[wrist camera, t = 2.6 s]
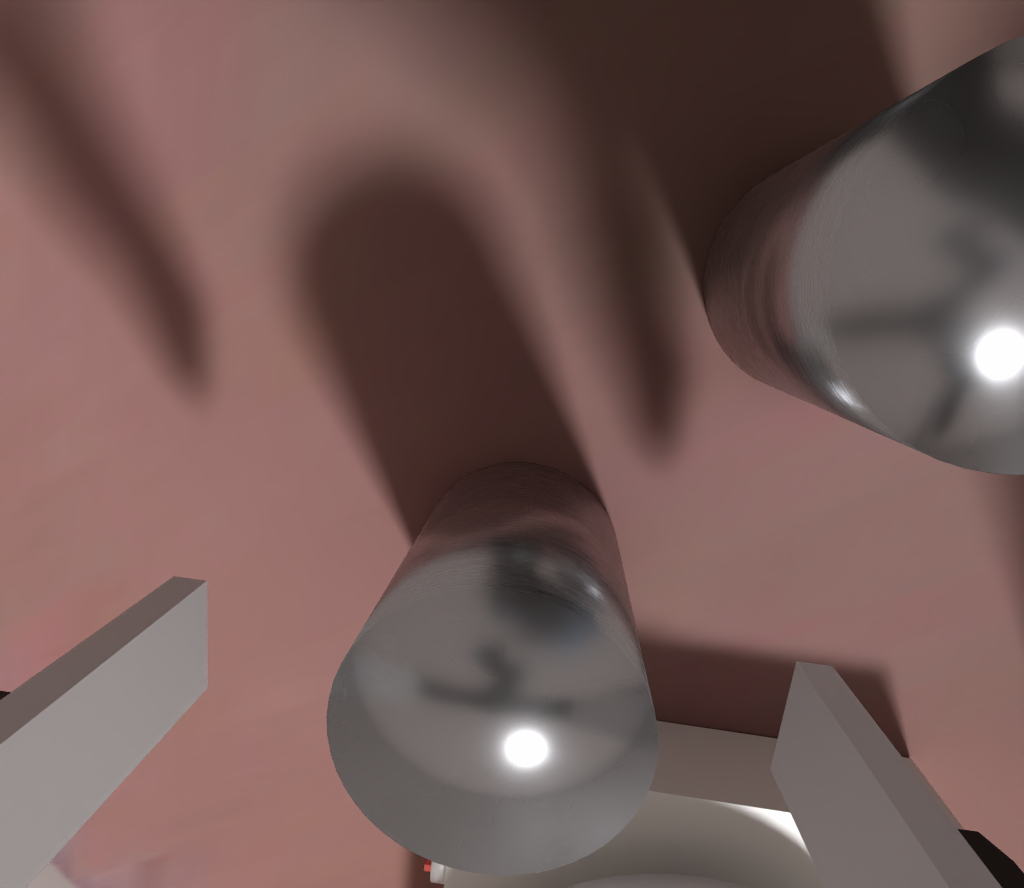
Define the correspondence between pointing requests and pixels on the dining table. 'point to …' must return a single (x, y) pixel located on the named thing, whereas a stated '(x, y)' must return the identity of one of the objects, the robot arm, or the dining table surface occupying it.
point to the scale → (692, 825)
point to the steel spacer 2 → (894, 271)
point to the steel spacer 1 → (500, 683)
